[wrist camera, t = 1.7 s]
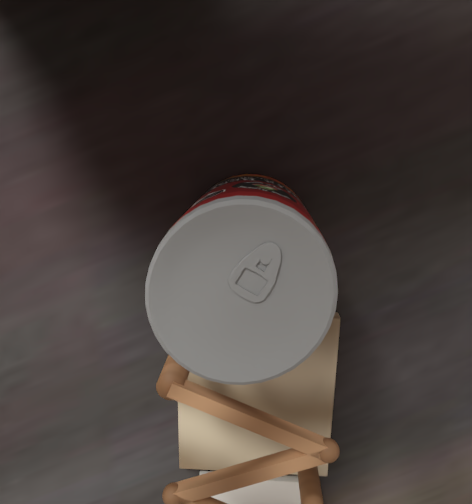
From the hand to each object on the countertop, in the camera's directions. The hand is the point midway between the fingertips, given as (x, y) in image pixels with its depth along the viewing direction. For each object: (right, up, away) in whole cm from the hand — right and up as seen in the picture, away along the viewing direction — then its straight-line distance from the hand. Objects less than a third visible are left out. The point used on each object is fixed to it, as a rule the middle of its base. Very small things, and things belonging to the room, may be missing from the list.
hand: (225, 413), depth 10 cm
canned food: (+1, +5, +18) cm, 18 cm away
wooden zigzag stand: (+1, -6, +20) cm, 21 cm away
